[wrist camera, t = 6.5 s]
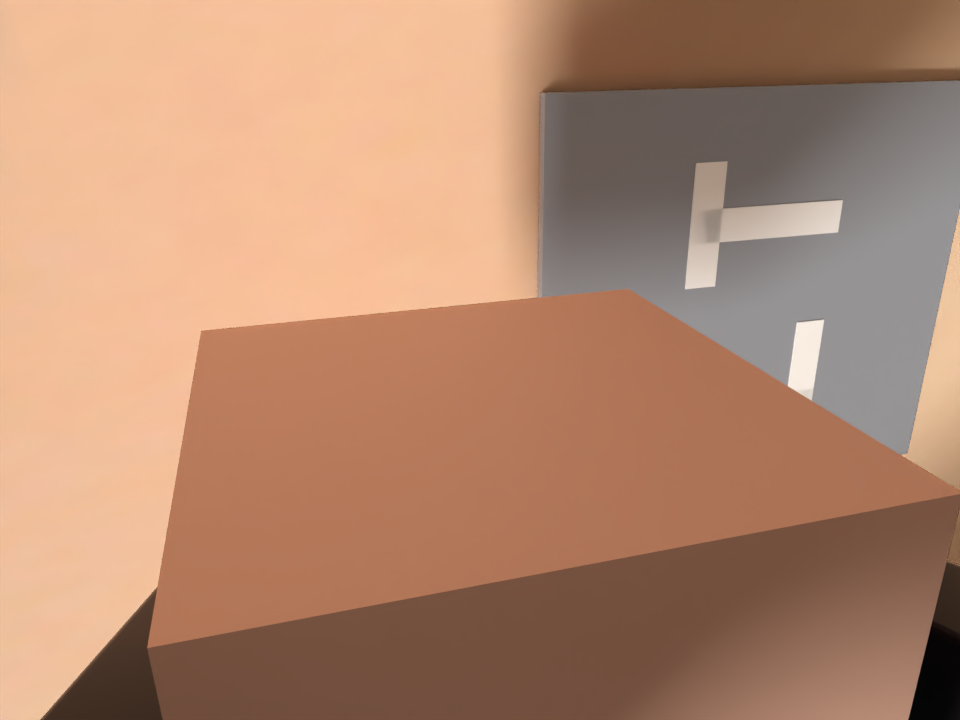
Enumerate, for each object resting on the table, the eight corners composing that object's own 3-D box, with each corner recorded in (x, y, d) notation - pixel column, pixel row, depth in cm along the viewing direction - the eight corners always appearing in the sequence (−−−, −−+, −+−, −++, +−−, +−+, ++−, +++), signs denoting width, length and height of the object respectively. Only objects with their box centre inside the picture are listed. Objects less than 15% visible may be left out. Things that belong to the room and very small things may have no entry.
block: (610, 618, 11) (844, 982, 7) (257, 691, 10) (264, 1190, 6) (628, 289, 10) (963, 493, 5) (201, 331, 8) (149, 646, 4)
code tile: (900, 448, 20) (908, 453, 20) (534, 510, 18) (538, 516, 17) (976, 79, 17) (988, 79, 17) (540, 93, 14) (545, 93, 14)
